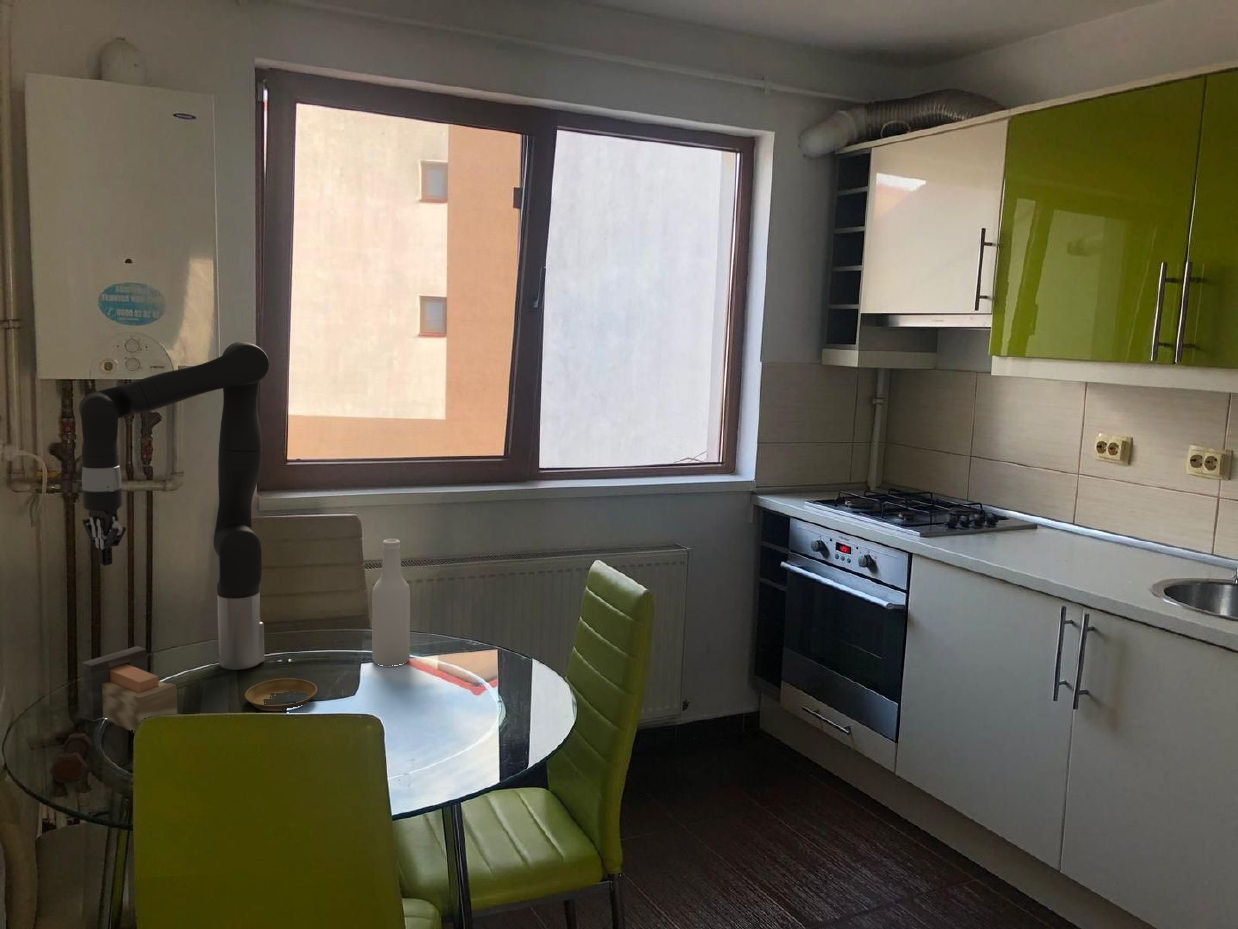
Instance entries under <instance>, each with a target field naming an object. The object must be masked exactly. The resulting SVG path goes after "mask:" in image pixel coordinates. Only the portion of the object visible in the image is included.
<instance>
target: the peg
mask: <svg viewBox="0 0 1238 929" xmlns="http://www.w3.org/2000/svg"><path fill="white" fill-rule="evenodd" d="M158 681H159V676H158V675H155V674H153V673H151V672H148V671H147V672H146V671H143V670H141V669H138V668H136V667H133V666H131V665H128V664H126V663H124V664H120V665H117V666H114V667H111V668H109V682H112V683H114V684H117V685H119V686H121V687H124V688H126V689H128V690H131V691H133V692H136V693H138V694H139V693H142V692H145V691H148V690H151V689H154V688H157V687H159V685H158Z"/></svg>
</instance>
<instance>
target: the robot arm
mask: <svg viewBox="0 0 1238 929" xmlns="http://www.w3.org/2000/svg"><path fill="white" fill-rule="evenodd" d="M269 359H270V358H269V357H268V355H267V353H266V352H265V351H264V350H263V349H262V348H261V347H259V346H258V345H256V344H254V343H250V342H247V341H236V342H233V343H231V344H230V345H228V346H227V347H226V348H225V350H224V351H223V353H222V355H221V356H218V357H217V358H214V359H211V360H210V361H207V362H203V363H201V364H197V365H194V366H189V367H185V368H181V369H180V368H179V369H174V370H170V371H165V372H161V373H157V374H153V375H150V376H148V377H144V378H140V379H137V380H135V381H132V382H129V383H127V384H123V385H117V386H114V387H109V388H105V389H101V390H97V391H94V392H91V393H89V394H87V395H85V396H84V397H83V398H82V399H81V400H80V402H79V405H78V412H79V415H80V420H81V431H82V441H83V442H82V444H81V460H82V473H81V486H82V488H81V489H82V504H83V505H82V506H83V509H84V510H86V511H88V517H87V518H83V519H82V525H83V526H84V529H85V532H86V534H87V536H88V538H89V541H90V543H91V544H92V545H93V544H95V547H96V548H97V549H98V550H97V551H98V552H97V553H98V564H99V565H101V566H103V567H105V566H110V565H113V548H115V547H118V546H119V545H120V543H121V542H122V539H123V537H124V535H125V533H126V530H127V528H126V526H125V525H121V524H120V523H119V520H120V519H119V514H118V509H121V508H122V506H123V491H122V488H123V485H122V484H123V483H122V472H121V468H120V450H119V444H118V437H119V434H118V432H119V419H121V418H124V417H126V416H131V415H134V414H137V415H138V414H140V415H141V414H145V413H148V412H152V411H155V410H158V409H161V408H163V407H167V406H170V405H174V404H175V403H178V402H181V401H184V400H187V399H191V398H193V397H196V396H198V395H202V394H205V393H209V392H213V391H217V390H221V389H222V394H223V399H222V400H223V404H222V413H221V419H220V431H219V440H218V458H217V459H218V462H217V464H218V465H217V466H218V468H217V469H218V470H217V483H218V484H217V486H218V509H217V517H216V521H215V528H214V534H213V541H212V542H213V549H214V551H215V553H216V555H217V556H218V557H219V558H218V559H219V578H218V582H217V584H216V597H217V626H218V627H217V629H218V631H217V633H218V659H219V660H218V665H219V667H221V668H223V669H225V670H234V671H236V670H238V671H239V670H247V669H250V668H253V667H256V666H258V665H259V664H261V663H263V662H265V624H264V622H262V621H261V611H260V610H261V609H260V608H261V607H260V606H261V605H260V585H261V581H262V560H263V559H262V558H263V557H262V554H263V553H262V543H261V540H260V538H259V536H258V535H257V534H256V533H255V532H254V531H253V523H252V503H253V497H254V494H255V491H256V487H257V485H258V481H259V479H260V478H259V477H260V474H261V468H262V454H263V453H262V452H263V451H262V450H263V449H262V448H263V440H262V438H263V437H262V430H261V425H260V417H259V411H258V393H259V391H258V390H259V383H260V381H262V380H263V379H264V378H265V377H266V375H268V374H267V373H268V372H269V368H270V360H269Z"/></svg>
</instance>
